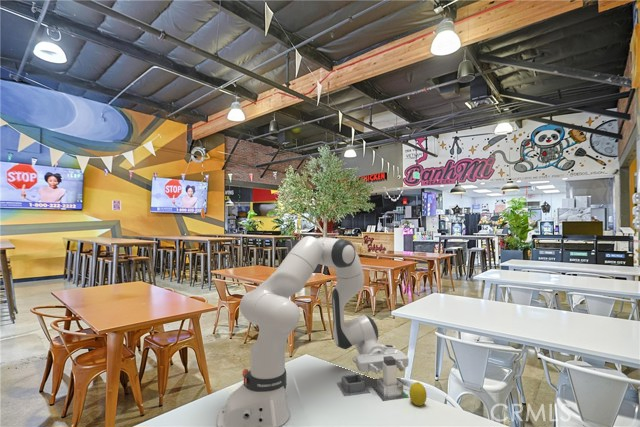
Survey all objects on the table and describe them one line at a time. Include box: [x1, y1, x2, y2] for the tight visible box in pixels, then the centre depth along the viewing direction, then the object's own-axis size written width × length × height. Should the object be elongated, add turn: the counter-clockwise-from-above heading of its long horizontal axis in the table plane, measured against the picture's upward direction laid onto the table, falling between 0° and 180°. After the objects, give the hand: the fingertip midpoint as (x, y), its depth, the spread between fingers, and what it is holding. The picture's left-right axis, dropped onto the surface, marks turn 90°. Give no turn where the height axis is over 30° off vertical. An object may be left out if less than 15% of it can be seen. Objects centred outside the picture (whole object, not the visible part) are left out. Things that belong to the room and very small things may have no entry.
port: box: [371, 377, 410, 402], centre depth 114 cm, size 10×10×4 cm
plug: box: [382, 356, 398, 386], centre depth 115 cm, size 4×4×12 cm
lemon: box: [408, 381, 427, 407], centre depth 107 cm, size 6×6×8 cm
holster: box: [336, 374, 371, 397], centre depth 118 cm, size 10×10×4 cm
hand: (390, 370), depth 114 cm, fingers open, 8 cm apart
